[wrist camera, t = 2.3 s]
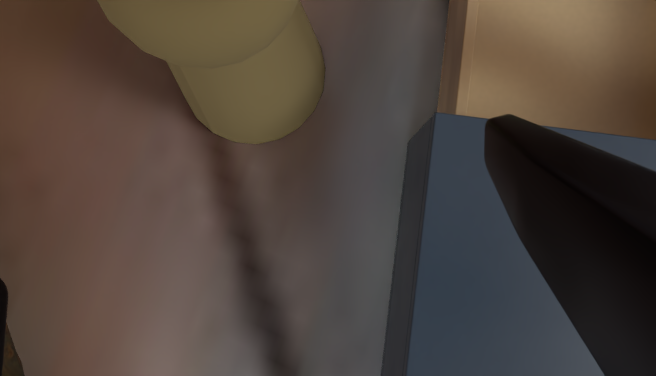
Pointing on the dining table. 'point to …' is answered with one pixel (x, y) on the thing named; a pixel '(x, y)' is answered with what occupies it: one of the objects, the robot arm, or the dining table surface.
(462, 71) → the drawer
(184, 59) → the pawn game piece
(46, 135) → the dining table surface
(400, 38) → the dining table surface
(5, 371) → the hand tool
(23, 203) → the dining table surface
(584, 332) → the robot arm
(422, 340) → the cabinet
